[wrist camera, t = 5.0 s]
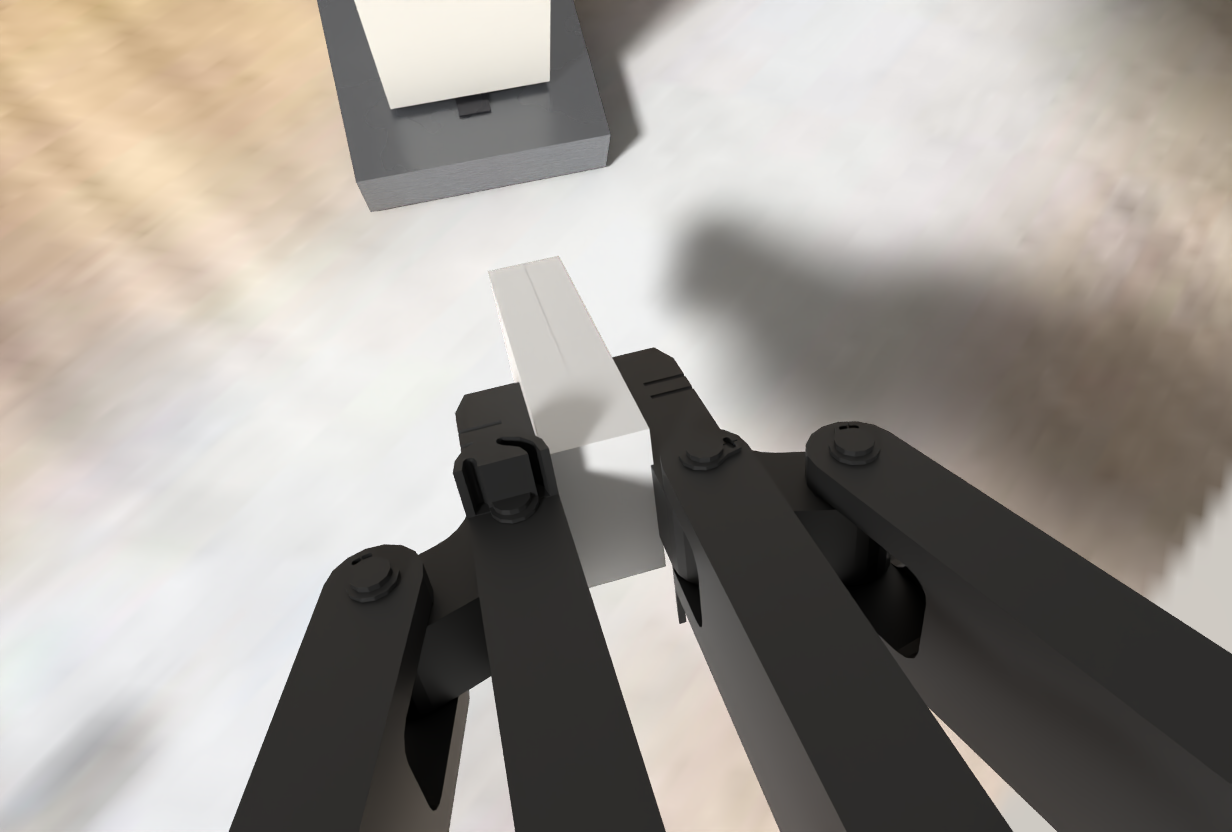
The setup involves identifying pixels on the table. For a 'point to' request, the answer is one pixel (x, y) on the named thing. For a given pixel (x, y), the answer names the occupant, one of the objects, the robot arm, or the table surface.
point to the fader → (456, 46)
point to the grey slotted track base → (465, 121)
